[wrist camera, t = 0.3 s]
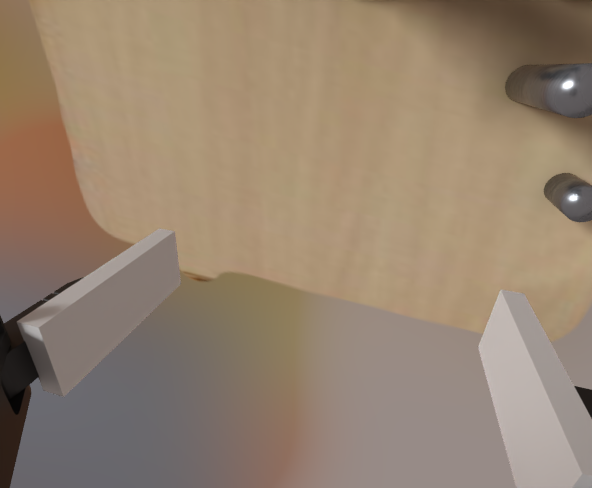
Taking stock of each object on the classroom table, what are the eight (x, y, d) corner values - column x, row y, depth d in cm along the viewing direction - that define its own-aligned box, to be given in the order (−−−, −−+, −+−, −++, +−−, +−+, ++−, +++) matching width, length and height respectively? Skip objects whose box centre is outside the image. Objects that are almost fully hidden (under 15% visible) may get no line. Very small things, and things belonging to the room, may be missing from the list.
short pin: (550, 171, 34) (571, 186, 29) (586, 174, 33) (613, 190, 29) (539, 200, 35) (558, 219, 31) (573, 204, 34) (597, 224, 30)
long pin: (511, 64, 31) (565, 62, 21) (549, 65, 30) (624, 64, 20) (501, 100, 32) (546, 116, 22) (537, 102, 32) (602, 119, 21)
